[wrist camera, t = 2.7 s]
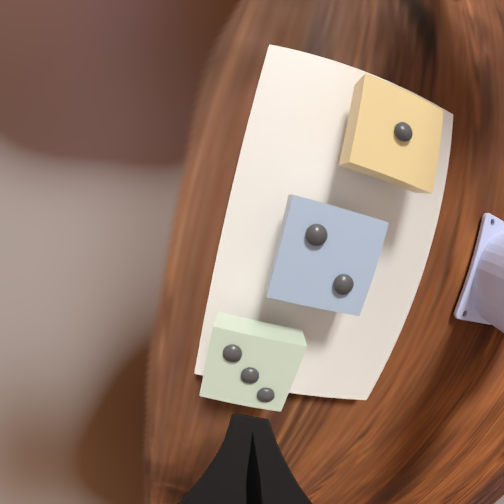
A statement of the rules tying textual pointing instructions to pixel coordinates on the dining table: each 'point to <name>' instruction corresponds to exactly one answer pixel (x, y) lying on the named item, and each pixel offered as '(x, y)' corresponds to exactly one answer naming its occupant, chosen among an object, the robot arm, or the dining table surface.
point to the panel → (329, 192)
